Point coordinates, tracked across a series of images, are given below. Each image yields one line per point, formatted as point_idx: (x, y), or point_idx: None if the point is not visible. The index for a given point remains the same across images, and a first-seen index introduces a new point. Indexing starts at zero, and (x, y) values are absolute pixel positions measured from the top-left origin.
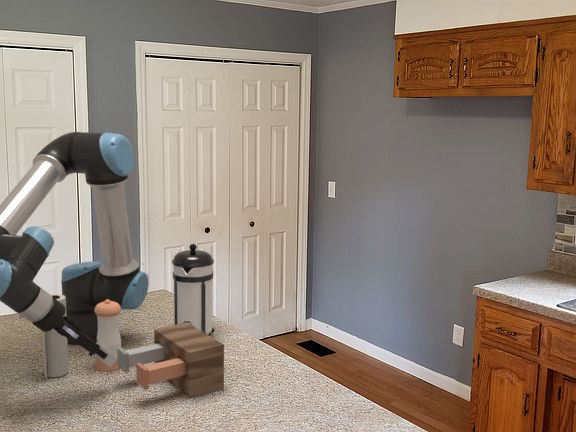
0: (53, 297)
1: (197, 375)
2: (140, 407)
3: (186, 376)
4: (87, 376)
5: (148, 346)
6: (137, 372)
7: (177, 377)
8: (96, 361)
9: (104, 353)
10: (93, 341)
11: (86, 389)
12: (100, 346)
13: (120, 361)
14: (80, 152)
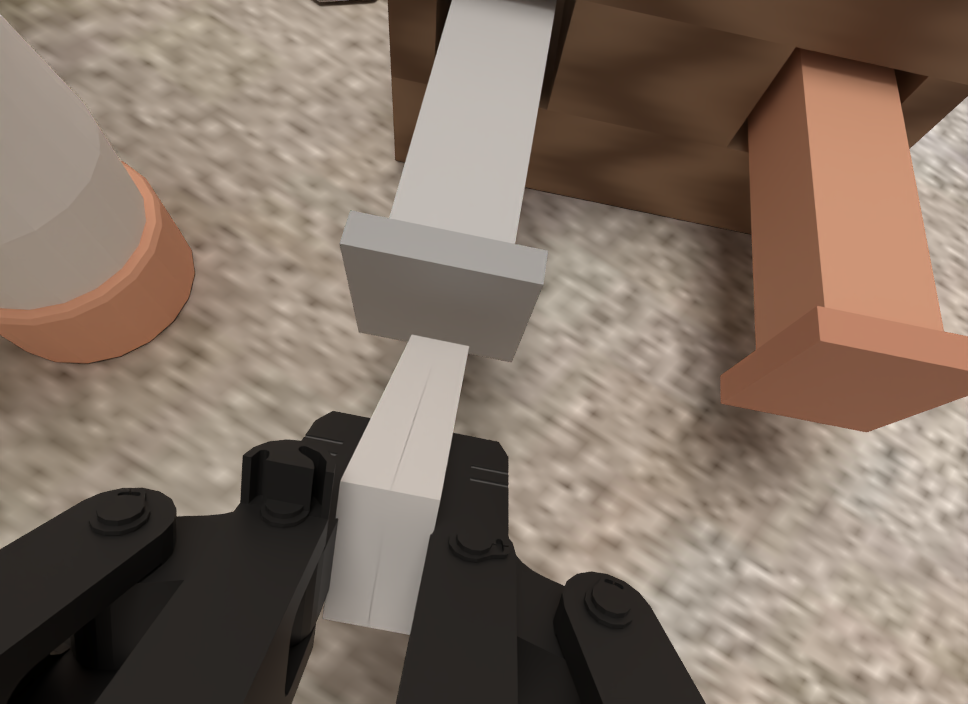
0: None
1: None
2: (765, 479)
3: None
4: (101, 474)
5: (459, 57)
6: (795, 376)
7: (707, 173)
8: (20, 337)
9: (507, 484)
10: (432, 616)
11: None
12: (440, 485)
13: (416, 315)
14: None
